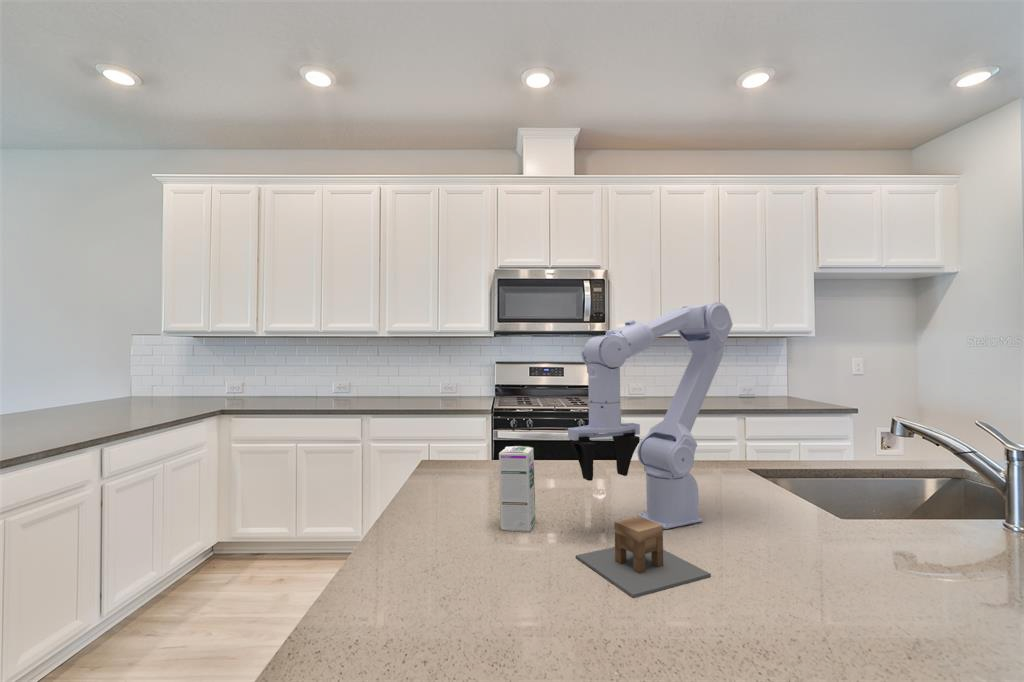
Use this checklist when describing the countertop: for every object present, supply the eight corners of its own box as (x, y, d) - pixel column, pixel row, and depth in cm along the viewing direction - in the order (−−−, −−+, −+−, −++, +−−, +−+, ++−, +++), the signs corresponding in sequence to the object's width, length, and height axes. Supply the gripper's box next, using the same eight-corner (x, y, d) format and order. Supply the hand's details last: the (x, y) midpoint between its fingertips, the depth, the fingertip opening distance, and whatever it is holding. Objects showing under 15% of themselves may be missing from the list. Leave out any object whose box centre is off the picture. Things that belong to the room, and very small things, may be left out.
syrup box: (530, 532, 87) (530, 452, 88) (499, 530, 89) (498, 451, 89) (535, 521, 93) (534, 446, 93) (505, 520, 94) (505, 445, 95)
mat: (645, 542, 82) (645, 540, 82) (710, 576, 69) (710, 573, 69) (575, 557, 76) (575, 555, 76) (632, 597, 64) (632, 594, 64)
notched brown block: (663, 565, 72) (662, 525, 72) (639, 573, 70) (638, 531, 70) (638, 554, 76) (637, 515, 77) (615, 561, 74) (614, 521, 74)
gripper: (622, 398, 95) (623, 468, 94) (558, 401, 88) (559, 476, 88) (647, 401, 88) (648, 476, 88) (579, 405, 82) (580, 485, 82)
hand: (605, 477), depth 87 cm, fingers open, 7 cm apart
